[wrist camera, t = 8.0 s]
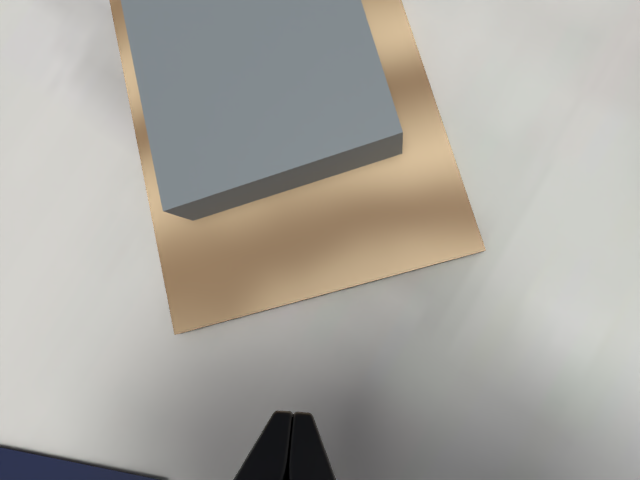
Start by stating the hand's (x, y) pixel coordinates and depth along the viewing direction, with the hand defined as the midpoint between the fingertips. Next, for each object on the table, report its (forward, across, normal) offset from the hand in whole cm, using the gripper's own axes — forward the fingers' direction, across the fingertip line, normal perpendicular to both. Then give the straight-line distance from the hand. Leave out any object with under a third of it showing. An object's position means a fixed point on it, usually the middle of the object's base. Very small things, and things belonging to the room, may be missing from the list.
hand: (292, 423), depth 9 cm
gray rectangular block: (+10, +1, -2) cm, 10 cm away
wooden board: (+13, +2, -5) cm, 14 cm away
